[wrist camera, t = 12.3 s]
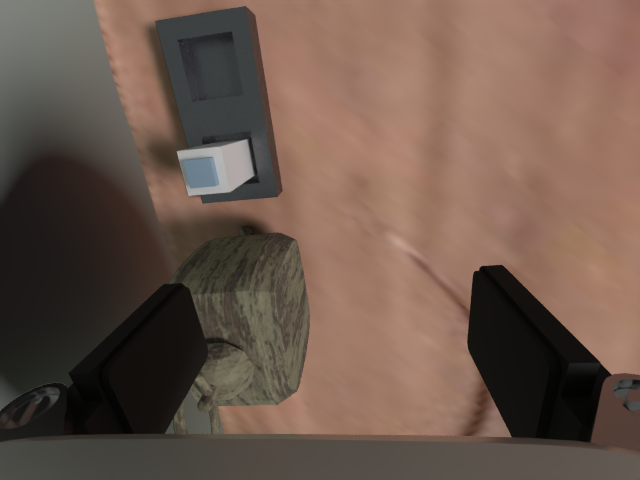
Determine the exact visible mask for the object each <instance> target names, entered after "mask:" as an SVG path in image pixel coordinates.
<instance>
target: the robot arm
mask: <svg viewBox="0 0 640 480" xmlns="http://www.w3.org/2000/svg"><path fill="white" fill-rule="evenodd" d="M467 343H468V349H469V352H470V354H471V356H472V358H473V360H474V362H475V364H476V366H477V368H478V370H479V372H480V374H481V376H482V378H483V380H484V382H485V384H486V386H487V388H488V390H489V392H490V394H491V396H492V398H493V400H494V402H495V404H496V406H497V408H498V410H499V412H500V414H501V416H502V418H503V420H504V422H505V424H506V426H507V428H508V430H509V432H510V434H511V436H512V437H479V436H426V435H337V434H165V432H166V430H167V428H168V427H169V425H170V423H171V421H172V420H173V418H174V416H175V414H176V413H177V411H178V409H179V407H180V406H181V404H182V402H183V400H184V398H185V397H186V395H187V393H188V391H189V390H190V388H191V386H192V384H193V383H194V381H195V379H196V377H197V376H198V374H199V372H200V370H201V369H202V367H203V365H204V363H205V362H206V360H207V357H208V347H207V344H206V340H205V337H204V334H203V331H202V327H201V324H200V321H199V318H198V314H197V311H196V308H195V305H194V302H193V298H192V295H191V292H190V289H189V288H188V287H185V285H184V284H182V283H172V284H164V285H162V286H161V287H160V288H159V289H158V290H157V291H156V292H155V293H154V294H153V295H152V296H151V297H149V298H148V299H147V300H146V301H145V302H144V303H143V304H142V305H141V306H140V307H139V308H138V309H137V310H135V311H134V312H133V313H132V314H131V315H130V316H129V317H128V318H127V319H126V320H125V321H124V322H123V323H122V324H121V325H119V326H118V327H117V328H116V329H115V330H114V331H113V332H112V333H111V334H110V335H109V336H108V337H107V338H106V339H105V340H103V341H102V342H101V343H100V344H99V345H98V346H97V347H96V348H95V349H94V350H93V351H92V352H91V353H90V354H89V355H87V356H86V357H85V358H84V359H83V360H82V361H81V362H80V363H79V364H78V365H77V366H76V367H75V368H74V369H73V370H72V371H70V372H69V375H70V377H71V379H72V381H73V384H72V385H71V386H70V387H69V388H67V386H66V385H64V384H63V383H50V384H45V385H42V386H40V387H37V388H34V389H32V390H30V391H28V392H26V393H24V394H22V395H21V396H19V397H18V398H16V399H14V400H13V401H11V402H10V403H9V404H8V405H6V406H5V407H4V408H3V409H2V410H1V411H0V480H640V375H635V374H627V373H623V374H614V375H611V374H610V373H609V372H608V371H607V370H606V369H605V368H604V367H603V366H602V365H601V364H600V362H599V361H598V360H597V359H596V358H595V357H594V356H593V355H592V354H591V353H590V352H589V351H588V350H587V349H586V348H585V347H584V346H583V345H582V344H581V343H580V342H579V341H578V340H577V339H576V338H575V337H574V336H573V335H572V334H571V333H570V332H569V331H568V330H567V329H566V328H565V327H564V326H563V325H562V324H561V323H560V322H559V321H558V320H557V319H556V318H555V317H554V316H553V315H552V314H551V313H550V312H549V311H548V310H547V309H546V308H545V307H544V306H543V305H542V304H541V303H540V302H539V301H538V300H537V299H536V298H535V297H534V296H533V295H532V294H531V293H530V292H529V291H528V290H527V289H526V288H525V287H524V286H523V285H522V284H521V283H520V282H519V281H518V280H517V279H516V278H515V277H514V276H513V275H512V274H511V273H510V272H509V271H508V270H507V269H506V268H505V267H504V266H502V265H493V266H481V267H480V269H479V271H475V272H474V274H473V282H472V294H471V305H470V317H469V329H468V341H467Z"/></svg>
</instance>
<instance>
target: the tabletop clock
mask: <svg viewBox="0 0 640 480" xmlns="http://www.w3.org/2000/svg"><path fill="white" fill-rule="evenodd" d="M239 234H240V236H237V237H226V238H216V239H212V240H210V241H208V242H206V243H205V244H204V245H202V246H201V247H200V248H198V249H197V250H196V251H194V252H193V253H192V254H191V255H190V256H189V258H188V259H187V260H186V261H185V262H184V263H183V264H182V265H181V266H180V268H179V269H178V270H177V271H176V273H175V274H174V275H173V277H172V279H171V280H170V282H169V283H168V284H172V283H182V284H184V285H185V287H188V288H189V289H190V292H191V295H192V298H193V302H194V305H195V308H196V311H197V314H198V318H199V321H200V324H201V327H202V331H203V334H204V337H205V340H206V344H207V347H208V357H207V360H206V362H205V363H204V365H203V367H202V369H201V370H200V372H199V374H198V376H197V377H196V379H195V381H194V383H193V384H192V386H191V388H190V390H191V392H192V394H193V396H194V398H195V399H196V400H197V402H198V405H197V407H198V410H199V411H200V412H202V413H207V412H209V415H210V421H211V432H212V434H218V433H219V413H218V406H239V405H278V404H279V403H281V402H282V401H284V400H285V399H286V398H288V397H289V396H291V395H292V394H294V393H295V392H297V390H298V387H299V384H300V381H301V377H302V372H303V366H304V361H305V356H306V350H307V343H308V337H309V328H310V311H309V303H308V297H307V291H306V284H305V278H304V273H303V268H302V262H301V257H300V252H299V247H298V244H297V241H296V240H295V239H293V238H291V237H288V236H286V235H284V234H282V233H267V234H257V235H252V230H251V228H250V227H248V226H244V227H242V228H241V229H240V232H239ZM183 410H184V400H183V402H182V404H181V406H180V407H179V409H178V411H177V413H176V414H175V416H174V418H173V427H174V432H175V434H188V433H187V429H186V426H185V420H184V411H183Z"/></svg>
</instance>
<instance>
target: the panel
mask: <svg viewBox="0 0 640 480" xmlns="http://www.w3.org/2000/svg"><path fill="white" fill-rule="evenodd" d="M155 23H156V26H157V30H158V34H159V38H160V42H161V46H162V49H163V53H164V57H165V61H166V65H167V69H168V73H169V76H170V80H171V84H172V88H173V92H174V96H175V100H176V103H177V107H178V111H179V115H180V119H181V123H182V127H183V130H184V134H185V138H186V142H187V146H188V148H193V147H197V146H201V145H205V144H210V143H214V142H220V141H229V140H239V139H248V138H251V144H252V149H253V155H254V160H255V166H256V171H257V174H256V175H254V176H253V177H252V178H250V179H249V180H247V181H246V182H244V183H243V184H241V185H240V186H238V187H237V188H236V189H234V190H233V191H231V192H227V193H215V194H204V195H200V196H201V200H202V203H213V202H225V201H236V200H247V199H259V198H270V197H278V196H279V194H280V193H281V192H282V191H283V190H282V184H281V178H280V171H279V165H278V159H277V152H276V146H275V139H274V133H273V127H272V120H271V114H270V108H269V101H268V95H267V88H266V82H265V76H264V69H263V63H262V57H261V50H260V44H259V38H258V31H257V25H256V18H255V15H254V14H253V13H252V12H251V11H250V10H249V9H248V8H247V7H246V6H244V7H238V8H232V9H226V10H219V11H213V12H207V13H201V14H195V15H189V16H183V17H177V18H171V19H165V20H159V21H155Z"/></svg>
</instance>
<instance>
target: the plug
mask: <svg viewBox="0 0 640 480" xmlns="http://www.w3.org/2000/svg"><path fill="white" fill-rule="evenodd" d="M177 155H178V159H179V162H180V166H181V170H182V173H183V177H184V181H185V184H186V188H187V192H188V195H189V196H193V195H204V194H215V193H227V192H231V191H233V190H234V189H236V188H237V187H238V186H240V185H241V184H243V183H244V182H246V181H247V180H249V179H250V178H252V177H253V176H254V175H256V174H257V171H256V166H255V160H254V155H253V149H252V144H251V138H248V139H239V140H229V141H220V142H214V143H210V144H205V145H201V146H197V147H193V148H188V149H184V150H180V151H177Z"/></svg>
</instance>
